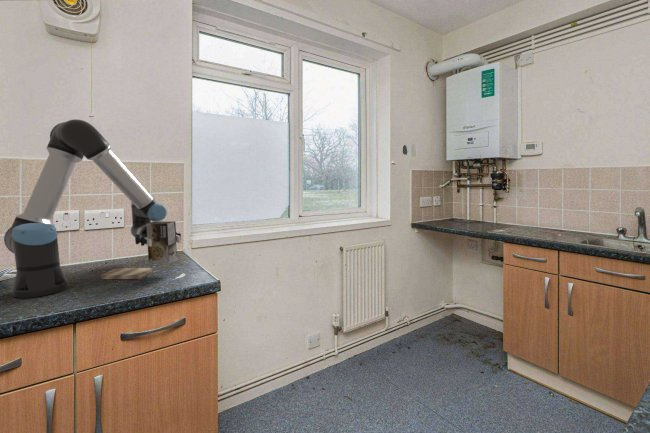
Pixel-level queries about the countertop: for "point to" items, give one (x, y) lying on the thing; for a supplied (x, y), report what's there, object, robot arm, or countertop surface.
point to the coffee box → (162, 241)
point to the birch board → (126, 273)
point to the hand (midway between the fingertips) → (165, 241)
